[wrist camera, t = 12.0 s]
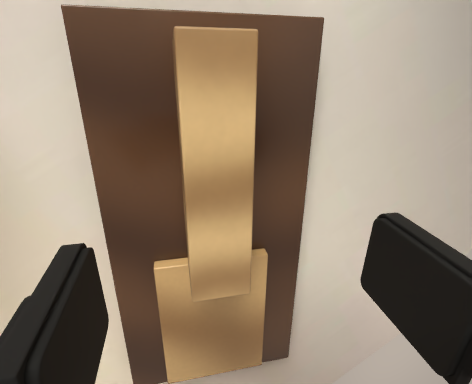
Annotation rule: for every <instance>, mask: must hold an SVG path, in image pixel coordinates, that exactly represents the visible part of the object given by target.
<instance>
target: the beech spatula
mask: <svg viewBox="0 0 472 384" xmlns="http://www.w3.org/2000/svg"><path fill="white" fill-rule="evenodd" d="M172 46H173V60H174V74H175V88H176V103H177V117H178V131H179V145H180V159H181V174H182V188H183V202H184V216H185V230H186V244H187V258H179V259H171V260H162V261H155V262H154V276H155V284H156V292H157V300H158V308H159V316H160V324H161V332H162V340H163V348H164V356H165V364H166V372H167V379H168V383H169V384H170V383H175V382H180V381H185V380H189V379H194V378H199V377H204V376H209V375H214V374H219V373H224V372H229V371H234V370H238V369H243V368H248V367H253V366H258V365H262V352H263V334H264V316H265V298H266V280H267V262H268V254H267V252H266V250H265V249H264V248H262V249H254V250H252V225H253V192H254V159H255V126H256V93H257V60H258V30H257V29H243V28H216V27H189V26H175V27H174V29H173V38H172Z"/></svg>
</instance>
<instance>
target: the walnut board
mask: <svg viewBox="0 0 472 384" xmlns="http://www.w3.org/2000/svg"><path fill="white" fill-rule="evenodd" d="M61 9H62V14H63V19H64V24H65V29H66V35H67V40H68V45H69V50H70V55H71V61H72V66H73V71H74V76H75V82H76V87H77V92H78V97H79V102H80V108H81V113H82V118H83V123H84V129H85V134H86V139H87V144H88V149H89V155H90V160H91V165H92V170H93V175H94V181H95V186H96V191H97V196H98V202H99V207H100V212H101V217H102V222H103V228H104V233H105V238H106V243H107V249H108V254H109V259H110V264H111V269H112V275H113V280H114V285H115V290H116V295H117V301H118V306H119V311H120V316H121V322H122V327H123V332H124V337H125V342H126V348H127V353H128V358H129V363H130V369H131V374H132V379H133V384H158V383H163V382H168V379H167V372H166V364H165V356H164V348H163V340H162V332H161V324H160V316H159V308H158V300H157V292H156V284H155V276H154V262H155V261H162V260H171V259H179V258H187V244H186V230H185V216H184V202H183V188H182V174H181V159H180V145H179V131H178V117H177V103H176V88H175V74H174V60H173V46H172V38H173V29H174V27H175V26H189V27H216V28H243V29H257V30H258V60H257V93H256V126H255V159H254V192H253V225H252V250H254V249H262V248H264V249H265V250H266V252H267V254H268V262H267V280H266V298H265V316H264V334H263V352H262V362H267V361H272V360H277V359H282V358H287V357H288V354H289V344H290V335H291V325H292V316H293V307H294V297H295V288H296V278H297V269H298V259H299V250H300V241H301V231H302V222H303V212H304V203H305V193H306V184H307V175H308V165H309V156H310V146H311V137H312V127H313V118H314V109H315V99H316V90H317V80H318V71H319V61H320V52H321V43H322V33H323V24H324V18H323V17H303V16H283V15H263V14H243V13H222V12H202V11H182V10H162V9H142V8H122V7H102V6H82V5H61Z"/></svg>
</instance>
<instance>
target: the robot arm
mask: <svg viewBox="0 0 472 384" xmlns="http://www.w3.org/2000/svg"><path fill="white" fill-rule="evenodd" d="M361 285H362V287H363V289H364V290H365V291H366V293H367V294H368V295H369V296H370V297H371V298H372V299H373V301H374V302H375V303H376V304H377V305H378V306H379V308H380V309H381V310H382V311H383V312H384V313H385V314H386V316H387V317H388V318H389V319H390V320H391V321H392V323H393V324H394V325H395V326H396V327H397V328H398V330H399V331H400V332H401V333H402V334H403V335H404V336H405V338H406V339H407V340H408V341H409V342H410V343H411V345H412V346H413V347H414V348H415V349H416V350H417V352H418V353H419V354H420V355H421V356H422V357H423V358H424V360H425V361H426V362H427V363H428V364H429V365H430V367H431V368H432V369H433V370H434V371H435V372H436V373H437V374H438V375H440V376H443V378H444V379H445V380H446V381H447V382H448V383H449V384H469V382H470V380H471V378H472V260H470V259H469V258H467V257H466V256H464V255H463V254H461V253H460V252H458V251H457V250H455V249H453V248H452V247H450V246H449V245H447V244H446V243H444V242H443V241H441V240H440V239H438V238H436V237H435V236H433V235H432V234H430V233H429V232H427V231H426V230H424V229H423V228H421V227H419V226H418V225H416V224H415V223H413V222H412V221H410V220H409V219H407V218H405V217H404V216H402V215H401V214H399V213H387V214H381V215H379V216H378V217H377V219H375V221H374V223H373V227H372V232H371V236H370V240H369V245H368V249H367V253H366V257H365V262H364V266H363V270H362V275H361ZM108 322H109V319H108V312H107V308H106V303H105V299H104V294H103V290H102V285H101V281H100V276H99V272H98V268H97V263H96V259H95V254H94V250H93V248H87V247H86V245H85V244H84V243H81V244H71V245H63V246H61V247H60V249H59V250H58V252H57V254H56V255H55V257H54V259H53V260H52V262H51V264H50V265H49V267H48V269H47V270H46V272H45V274H44V275H43V277H42V278H41V280H40V282H39V283H38V285H37V287H36V288H35V290H34V292H33V293H32V295H31V296H28V297H26V298H25V299H24V300H23V301H22V303H21V304H20V306H19V307H18V309H17V311H16V312H15V314H14V315H13V317H12V319H11V320H10V322H9V323H8V325H7V327H6V328H5V330H4V331H3V333H2V335H1V336H0V384H95V380H96V376H97V372H98V368H99V364H100V359H101V355H102V351H103V347H104V342H105V338H106V334H107V330H108Z"/></svg>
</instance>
